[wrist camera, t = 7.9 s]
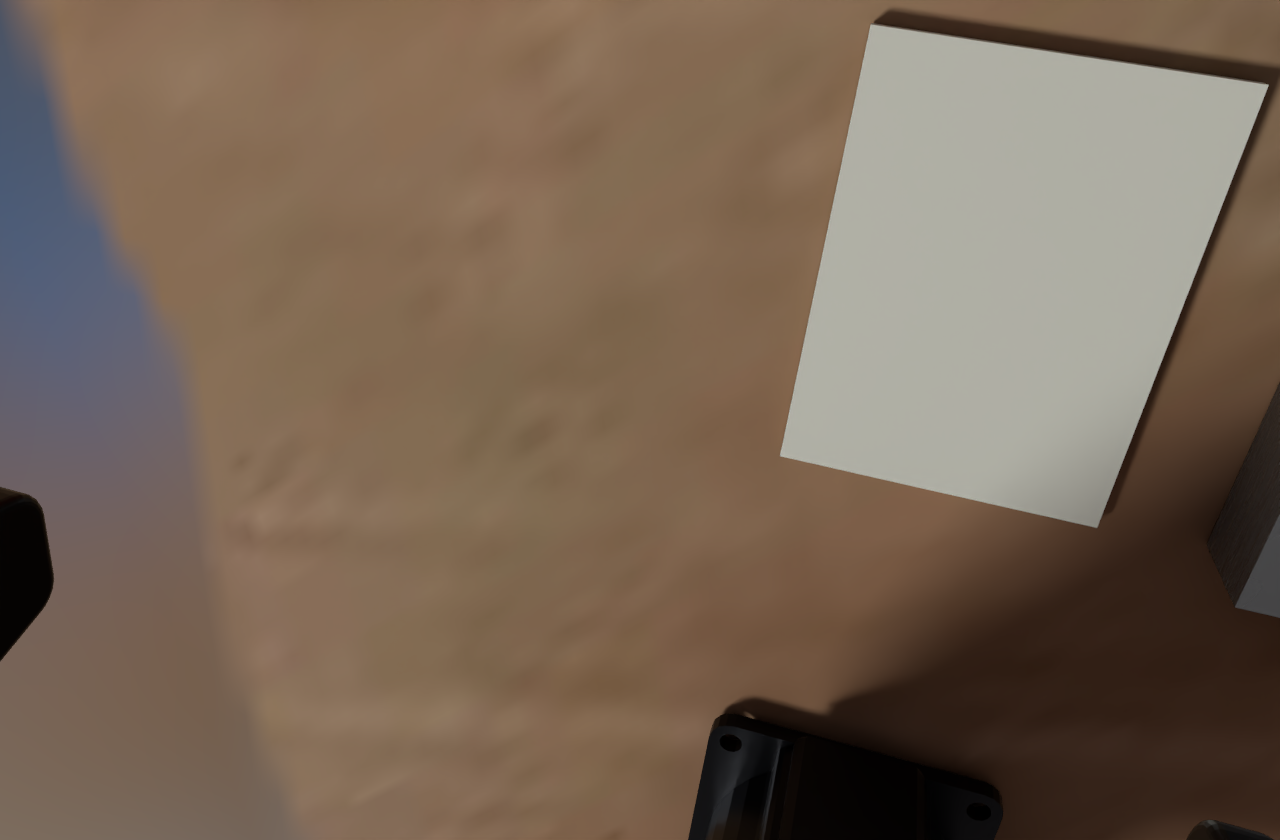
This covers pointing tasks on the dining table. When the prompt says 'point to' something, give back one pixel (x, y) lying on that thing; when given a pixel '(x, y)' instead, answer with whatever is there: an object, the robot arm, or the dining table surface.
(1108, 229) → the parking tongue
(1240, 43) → the dining table surface
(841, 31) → the dining table surface
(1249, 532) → the rack flange
